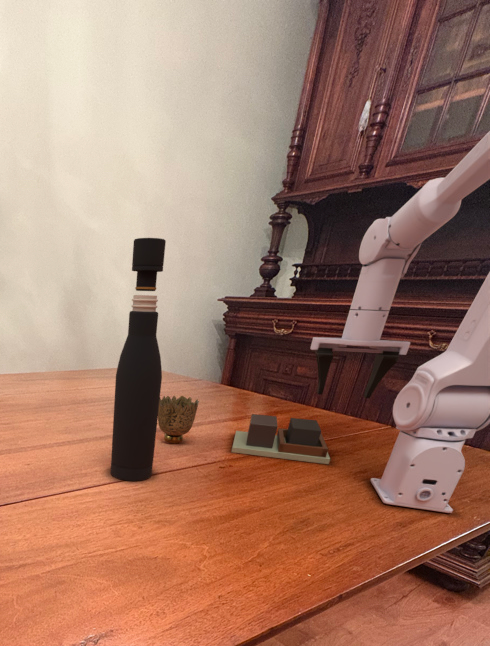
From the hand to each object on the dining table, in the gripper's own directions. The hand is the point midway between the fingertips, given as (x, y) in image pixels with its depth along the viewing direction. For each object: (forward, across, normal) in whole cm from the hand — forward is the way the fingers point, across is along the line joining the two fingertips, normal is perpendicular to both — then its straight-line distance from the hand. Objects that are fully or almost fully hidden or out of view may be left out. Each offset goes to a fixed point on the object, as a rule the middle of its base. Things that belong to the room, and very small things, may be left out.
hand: (342, 395), depth 77 cm
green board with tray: (+9, +9, +6) cm, 14 cm away
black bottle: (+10, +31, +30) cm, 44 cm away
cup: (+10, +28, +10) cm, 31 cm away
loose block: (+8, +6, +6) cm, 12 cm away
